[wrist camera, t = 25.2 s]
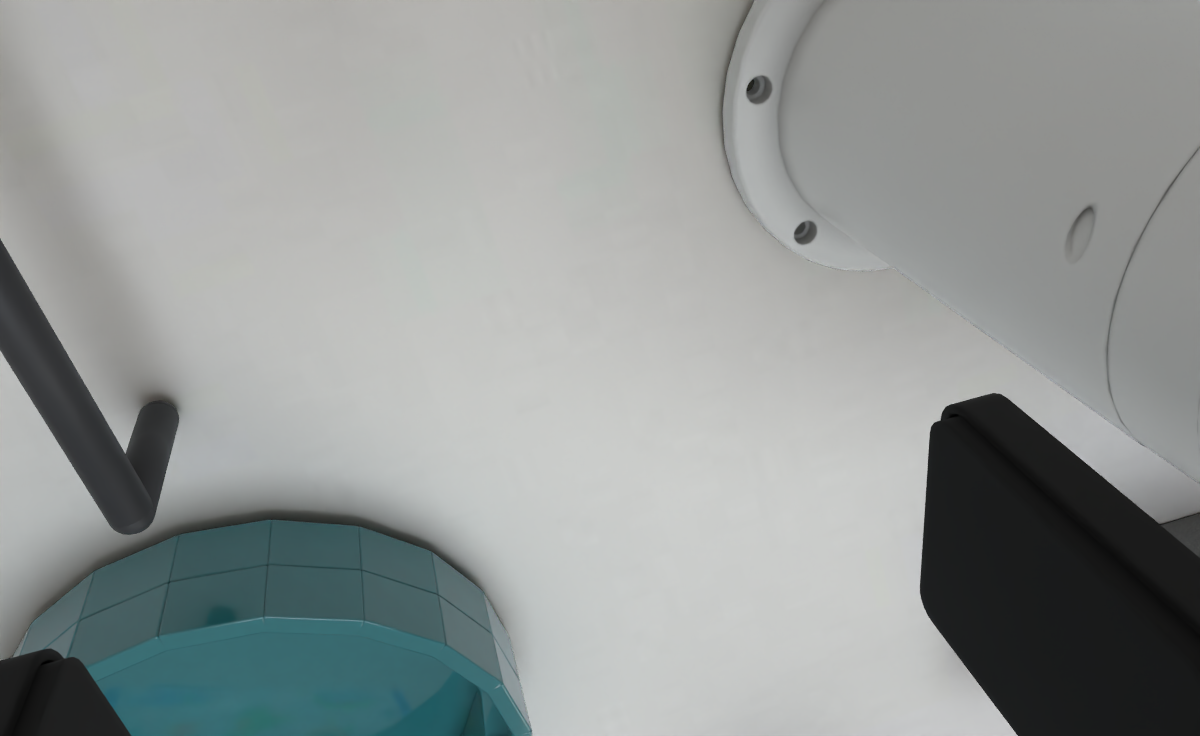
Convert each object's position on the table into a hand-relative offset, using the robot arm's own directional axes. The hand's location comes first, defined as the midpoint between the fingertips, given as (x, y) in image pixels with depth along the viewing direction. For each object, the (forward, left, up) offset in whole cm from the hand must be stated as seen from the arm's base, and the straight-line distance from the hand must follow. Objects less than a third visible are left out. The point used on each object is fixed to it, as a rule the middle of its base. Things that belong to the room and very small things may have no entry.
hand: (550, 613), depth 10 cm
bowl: (+23, +7, -21) cm, 32 cm away
